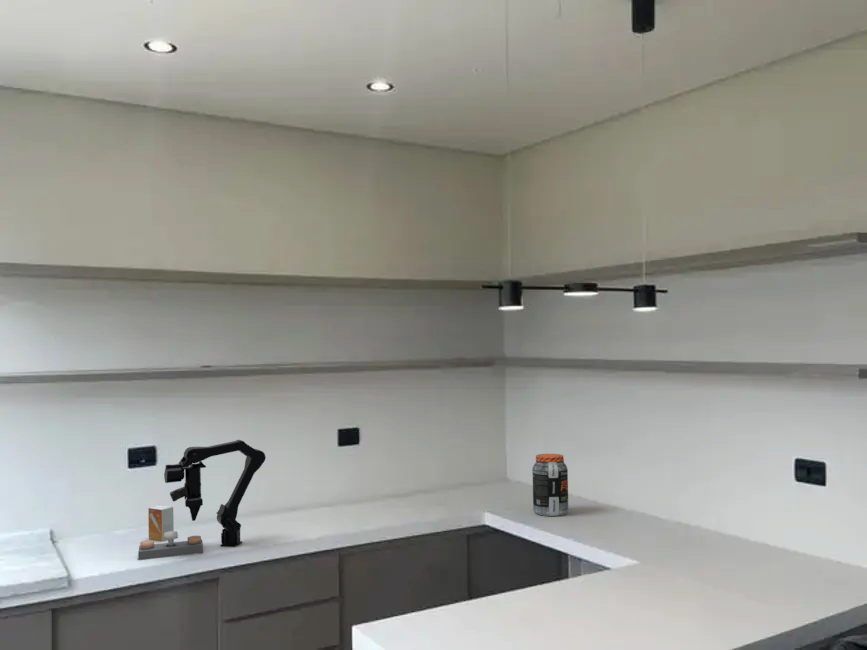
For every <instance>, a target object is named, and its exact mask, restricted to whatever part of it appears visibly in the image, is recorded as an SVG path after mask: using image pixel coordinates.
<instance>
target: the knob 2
mask: <svg viewBox="0 0 867 650" xmlns="http://www.w3.org/2000/svg"><path fill="white" fill-rule="evenodd" d="M201 539H202V536H201V535H190V536H188V537H187V540H186V541H188V544H197V543H200V542H201Z"/></svg>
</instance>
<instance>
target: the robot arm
mask: <svg viewBox="0 0 867 650" xmlns="http://www.w3.org/2000/svg"><path fill="white" fill-rule="evenodd" d="M238 451H239V452H240V453H241V454H243V455H244V456H245V461H244V468H243V471H242V472H241V475H240V477H239V478H238V480H237V483H236V485H235V487H234V489H233V490H232V493H231V495H230V496H229V499H228V500H227V502H226V503H225V504H222V503H221V504H220V506H219V509H218V510H217V512H216V514H217V515H216V521H217V523H219V525H221V527H222V530H221V535H220V539H221V540H220V541H221V542H220V547H237V546H239V545H241V544H242V543H243V540H241V527H242V523H240V522H239V521H238V520H236V519H237V516H238V511H239V510H238V509H239V505H240V504H241V501H242V499H243V497H244V496H245V493H246V491H247V489H248V487H249V485H250V483H251V482H252V479H253V477H254V475H255V473H256V472H257V471H258V470H260V468H261V467H262V465H263V464H264V462H265V461H266V454H265V452H264V451H262V450H260V449H257V448H253V446H250V445H249V444H248V443H247V442H245V441H243V440H241V439H236V440H233V441H230V442H229V441H228V442H224V443H219V444H214V445H210V446H189V447H187V448H186V449H185V450H184V452H183V456H182V458H181V459H180V461H179V462H178V463H175V464H166V465H165V468H164V473H163V476H164V482H165V483H166V484H168V483H169V484H170V483H177V482H178V483H180V482H182V480H184V479H185V480H184V486H182V487H179V488H177V489H175V490H174V489H173V491H170V493H169V495H170V498H171V501H172V502H176V501H177V500H180V499H182V498H184V500H185V501H184V504H185V506H184V507H186V508H188V509H189V512H190V517H191V521H192V522H195V521H196V520H197V517H198V514H199V512H200V509H201V507H202V506H203V504H204V503H203V501H204V500H203V498H202V482H201V479H202V477H201V476H202V475H201V470H202V469H203V468H204V469H205V468H207V465H205V464H204V463H203V462H202V461H204V460H206V459H209V458H211V457H216V456H219V455H223V454H228V453H233V452H238Z"/></svg>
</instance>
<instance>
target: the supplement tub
mask: <svg viewBox="0 0 867 650" xmlns="http://www.w3.org/2000/svg"><path fill="white" fill-rule="evenodd" d="M568 476H569V475H568V466H567V465H566V463H565V459H564V454H560V453H539V454H536V455H535V463H534V464H533V466H532V500H533V501H532V508H533V512H534V513H535V514H536V515H540V516H544V517H556V516H557V517H558V516H564V515H566V514H568V512H569V480H568V479H569V478H568Z"/></svg>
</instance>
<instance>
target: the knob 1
mask: <svg viewBox="0 0 867 650" xmlns="http://www.w3.org/2000/svg"><path fill="white" fill-rule="evenodd" d="M154 544H155V540H152V539H148V540H143V541H140V543H139V546H140V548H141V549H150V548H153V547H154Z"/></svg>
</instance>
